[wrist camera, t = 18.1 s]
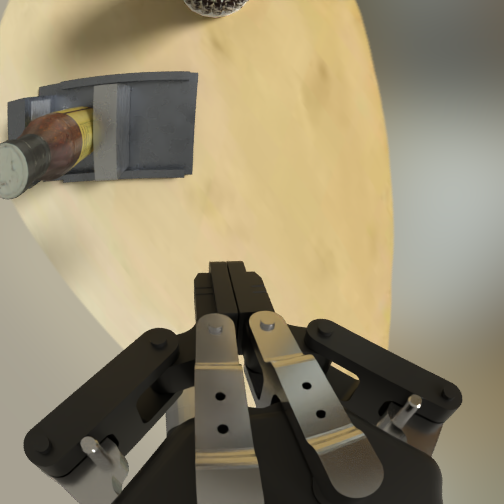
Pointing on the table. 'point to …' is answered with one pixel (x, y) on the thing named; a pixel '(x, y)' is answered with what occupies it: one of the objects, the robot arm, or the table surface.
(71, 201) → the table surface
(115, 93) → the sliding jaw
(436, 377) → the robot arm
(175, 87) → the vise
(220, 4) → the decorative candle
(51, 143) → the sauce bottle
